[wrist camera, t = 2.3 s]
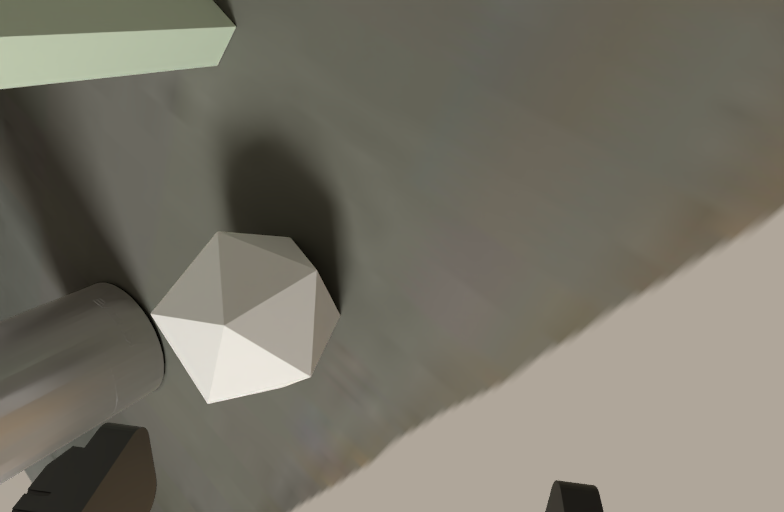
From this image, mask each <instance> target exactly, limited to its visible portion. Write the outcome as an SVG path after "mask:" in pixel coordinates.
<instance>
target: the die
mask: <svg viewBox="0 0 784 512" xmlns="http://www.w3.org/2000/svg"><path fill="white" fill-rule="evenodd" d="M151 316H152V317H153V319H154V320H155V322H156V323H157V325H158V327H159V328H160V330H161V331H162V333H163V334H164V336H165V337H166V339H167V341H168V342H169V344H170V345H171V347H172V348H173V350H174V352H175V353H176V355H177V356H178V358H179V359H180V361H181V363H182V364H183V366H184V367H185V369H186V370H187V372H188V374H189V375H190V377H191V378H192V380H193V381H194V383H195V385H196V386H197V388H198V389H199V391H200V392H201V394H202V396H203V397H204V399H205V400H206V402H207V403H208V404H209V403H214V402H218V401H223V400H227V399H232V398H236V397H241V396H245V395H250V394H254V393H259V392H264V391H268V390H273V389H277V388H282V387H284V386H287V385H290V384H293V383H295V382H298V381H301V380H304V379H306V378H309V377H311V376H312V373H313V371H314V369H315V367H316V365H317V363H318V361H319V359H320V357H321V355H322V353H323V351H324V349H325V347H326V344H327V342H328V340H329V338H330V336H331V334H332V332H333V330H334V328H335V326H336V324H337V322H338V320H339V318H340V314H339V312H338V310H337V308H336V306H335V304H334V302H333V300H332V298H331V296H330V294H329V292H328V291H327V289H326V287H325V285H324V283H323V281H322V279H321V277H320V275H319V273H318V271H317V270H316V268H315V267H314V266H313V265H312V263H311V262H310V261H309V260H308V258H307V257H306V256H305V255H304V254H303V252H302V251H301V250H300V249H299V247H298V246H297V245H296V244H295V243H294V241H293V240H292V239H291V238H290V237H280V236H268V235H256V234H244V233H232V232H220V231H217V233H216V234H215V235H214V236H213V238H212V239H211V240H210V241H209V242H208V244H207V245H206V246H205V247H204V249H203V250H202V251H201V252H200V254H199V255H198V256H197V257H196V258H195V260H194V261H193V262H192V263H191V265H190V266H189V267H188V268H187V269H186V271H185V272H184V273H183V274H182V276H181V277H180V278H179V279H178V281H177V282H176V283H175V284H174V285H173V287H172V288H171V289H170V290H169V292H168V293H167V294H166V295H165V297H164V298H163V299H162V300H161V301H160V303H159V304H158V305H157V306H156V308H155V309H154V310H153V311H152V313H151Z"/></svg>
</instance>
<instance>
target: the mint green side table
mask: <svg viewBox="0 0 784 512" xmlns="http://www.w3.org/2000/svg"><path fill="white" fill-rule="evenodd" d="M235 28H236V26H235V25H234V24H233V22H232V21H231V20H230V19H229V18H228V17H227V16H226V15H225V13H224V12H223V11H222V10H221V9H220V8H219V7H218V6H217V5H216V3H215V2H214V1H213V0H0V89H7V88H16V87H25V86H34V85H44V84H53V83H62V82H71V81H80V80H89V79H99V78H108V77H117V76H126V75H135V74H144V73H153V72H163V71H172V70H181V69H190V68H199V67H208V66H218V64H219V62H220V59H221V57H222V55H223V53H224V51H225V49H226V47H227V45H228V43H229V41H230V39H231V37H232V35H233V32H234V30H235Z"/></svg>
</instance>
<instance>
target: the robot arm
mask: <svg viewBox="0 0 784 512" xmlns="http://www.w3.org/2000/svg"><path fill="white" fill-rule="evenodd" d="M163 376H164V360H163V354H162V350H161V346H160V342H159V340H158V337H157V335H156V333H155V330H154V328H153V326H152V325H151V323H150V321H149V319H148V317H147V316H146V315H145V313H144V312H143V310H142V309H141V308H140V306H139V305H138V304H137V303H136V302H135V301H134V300H133V299H132V297H130V296H129V295H128V294H127V293H126V292H124V291H123V290H122V289H120V288H118V287H116V286H115V285H112V284H109V283H96V284H94V285H91V286H89V287H86V288H84V289H81V290H79V291H76V292H74V293H71V294H69V295H66V296H64V297H61V298H59V299H56V300H54V301H51V302H49V303H46V304H43V305H40V306H38V307H35V308H33V309H30V310H28V311H25V312H23V313H20V314H18V315H15V316H13V317H10V318H8V319H5V320H3V321H0V484H2V483H3V482H5V481H7V480H8V479H10V478H12V477H13V476H15V475H17V474H18V473H20V472H22V471H23V470H25V469H27V468H28V467H30V466H32V465H33V464H35V463H37V462H38V461H40V460H41V459H43V458H45V457H46V456H48V455H50V454H51V453H53V452H55V451H56V450H58V449H60V448H61V447H63V446H65V445H66V444H68V443H70V442H71V441H73V440H74V439H76V438H78V437H79V436H81V435H83V434H84V433H86V432H88V431H89V430H91V429H93V428H94V427H96V426H98V425H99V424H101V423H102V422H104V421H106V420H108V419H110V418H111V417H113V416H114V415H116V414H118V413H119V412H121V411H123V410H124V409H126V408H127V407H129V406H131V405H132V404H134V403H136V402H137V401H139V400H140V399H142V398H144V397H145V396H147V395H149V394H150V393H152V392H153V391H155V390H157V389H158V387H159V386H160V384H161V382H162V379H163ZM156 487H157V480H156V473H155V467H154V462H153V456H152V450H151V444H150V438H149V433H148V431H147V429H146V428H145V427H138V426H131V425H123V424H116V423H105V424H104V425H102V426H101V427H100V428H99V429H98V431H97V432H96V433H95V435H94V436H93V437H92V439H91V440H90V441H89V443H88V444H87V445H86V447H85V448H82V447H75V446H73V447H71V448H70V449H69V450H67V451H66V452H64V453H63V454H62V455H60V456H59V457H58V458H56V459H55V460H53V461H52V462H51V463H49V464H48V465H47V466H46V467H45V468H44V469H43V471H42V472H41V473H40V474H39V476H38V477H37V478H36V479H35V481H34V482H33V483H32V484H31V486H30V487H29V488H28V493H27V494H24V495H23V496H22V497H21V498H20V500H19V501H18V502H17V503H16V505H15V506H14V507H13V510H12V512H150V510H151V508H152V505H153V502H154V498H155V494H156ZM545 512H603V507H602V504H601V499H600V495H599V491H598V489H597V487H596V486H594V485H587V484H579V483H572V482H564V481H557V480H556V481H555V482H554V484H553V486H552V489H551V493H550V497H549V500H548V504H547V508H546V511H545Z"/></svg>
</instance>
